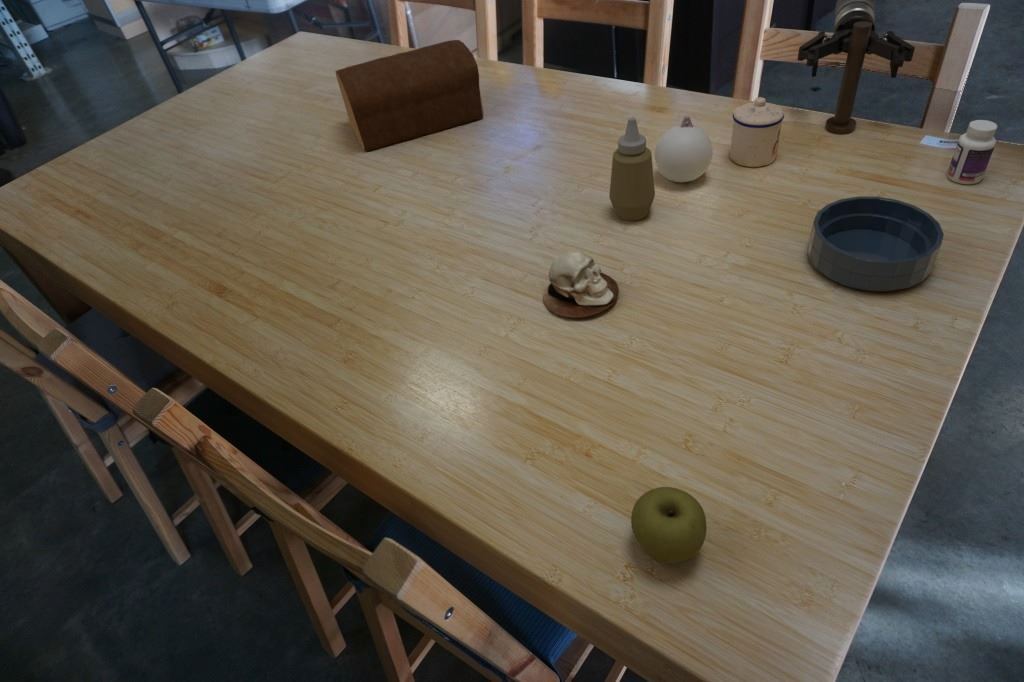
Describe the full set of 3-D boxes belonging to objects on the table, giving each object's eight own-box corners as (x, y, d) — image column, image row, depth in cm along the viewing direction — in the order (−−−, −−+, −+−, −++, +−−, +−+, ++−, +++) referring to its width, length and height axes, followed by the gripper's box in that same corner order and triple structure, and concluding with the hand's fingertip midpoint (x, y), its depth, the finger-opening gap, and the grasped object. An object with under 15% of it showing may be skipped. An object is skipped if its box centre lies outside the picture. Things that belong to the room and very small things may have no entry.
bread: (350, 125, 165) (330, 60, 154) (464, 94, 170) (452, 28, 160) (364, 155, 152) (344, 86, 141) (487, 120, 158) (476, 51, 147)
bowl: (958, 269, 100) (971, 236, 96) (865, 309, 97) (875, 277, 93) (868, 216, 113) (877, 185, 108) (783, 250, 109) (789, 219, 105)
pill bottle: (988, 176, 116) (1009, 124, 110) (970, 188, 115) (990, 135, 108) (957, 166, 120) (976, 114, 113) (939, 177, 118) (957, 125, 112)
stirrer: (861, 128, 134) (887, 24, 120) (839, 137, 132) (862, 32, 119) (840, 118, 138) (863, 16, 124) (818, 126, 136) (839, 24, 123)
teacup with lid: (782, 166, 127) (792, 107, 119) (733, 170, 128) (740, 112, 120) (767, 136, 136) (776, 80, 128) (721, 141, 137) (727, 85, 129)
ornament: (692, 159, 133) (696, 101, 125) (719, 182, 126) (725, 122, 118) (645, 173, 132) (646, 115, 123) (670, 197, 124) (673, 137, 116)
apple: (680, 591, 70) (683, 556, 65) (616, 548, 74) (615, 512, 70) (717, 539, 74) (723, 503, 69) (654, 501, 78) (656, 464, 73)
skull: (638, 280, 106) (612, 264, 97) (608, 338, 107) (580, 328, 99) (579, 253, 112) (549, 236, 104) (551, 308, 114) (520, 296, 105)
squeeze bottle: (608, 202, 125) (605, 110, 113) (651, 198, 125) (653, 105, 112) (611, 227, 120) (609, 132, 107) (657, 223, 119) (660, 127, 107)
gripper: (917, 47, 137) (924, 91, 123) (787, 47, 145) (780, 88, 131) (928, 8, 132) (937, 49, 118) (792, 10, 140) (786, 49, 126)
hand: (854, 70), depth 125 cm, fingers open, 13 cm apart
